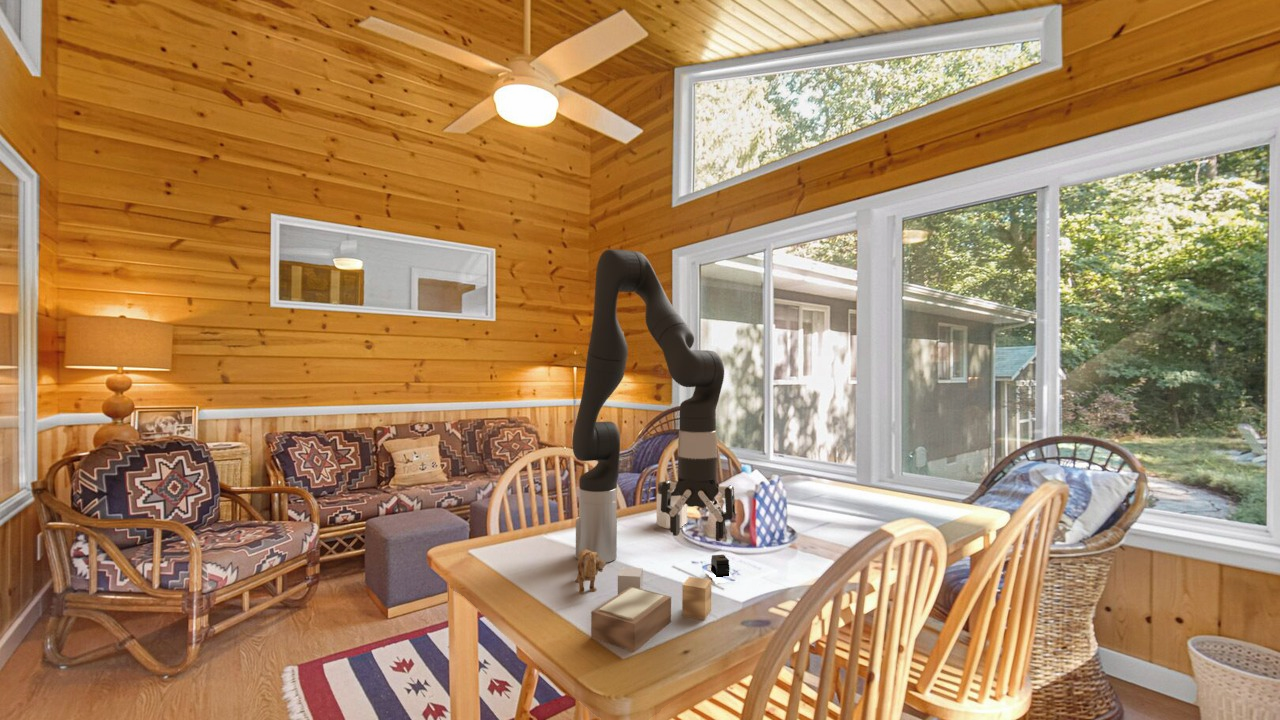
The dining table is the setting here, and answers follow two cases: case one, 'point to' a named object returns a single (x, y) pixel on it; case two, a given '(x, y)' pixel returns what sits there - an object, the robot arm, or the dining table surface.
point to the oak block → (696, 598)
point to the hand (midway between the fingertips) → (697, 537)
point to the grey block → (630, 578)
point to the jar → (664, 518)
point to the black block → (720, 565)
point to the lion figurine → (588, 569)
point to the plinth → (631, 618)
